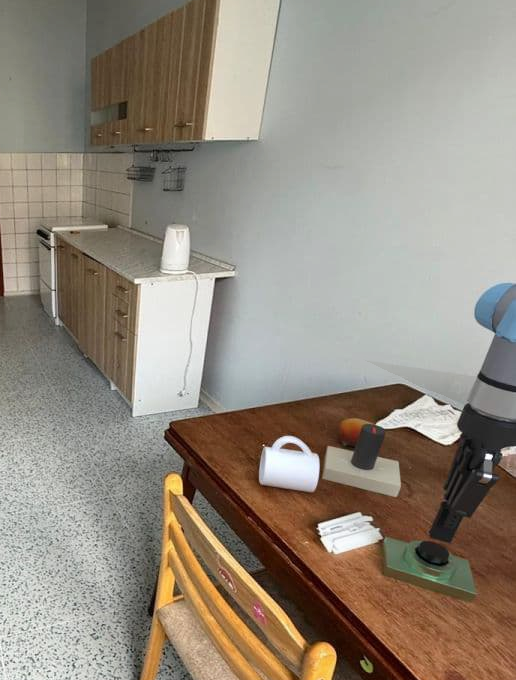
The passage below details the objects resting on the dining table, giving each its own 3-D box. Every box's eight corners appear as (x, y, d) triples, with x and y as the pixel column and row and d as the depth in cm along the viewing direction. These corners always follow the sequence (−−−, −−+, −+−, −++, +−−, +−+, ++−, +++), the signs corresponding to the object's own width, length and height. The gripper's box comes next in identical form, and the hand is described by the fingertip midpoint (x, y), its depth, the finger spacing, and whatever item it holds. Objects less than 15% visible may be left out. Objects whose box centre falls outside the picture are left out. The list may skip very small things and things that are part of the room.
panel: (394, 472, 105) (398, 460, 104) (396, 497, 98) (401, 485, 96) (324, 456, 112) (328, 445, 110) (321, 478, 104) (325, 467, 102)
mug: (312, 500, 98) (326, 452, 92) (259, 492, 100) (270, 444, 95) (307, 477, 104) (320, 431, 99) (258, 470, 107) (267, 424, 102)
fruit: (333, 445, 113) (343, 413, 113) (334, 446, 120) (343, 416, 119) (372, 455, 109) (382, 422, 109) (370, 456, 116) (380, 425, 115)
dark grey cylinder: (350, 456, 106) (362, 420, 101) (373, 461, 104) (386, 425, 100) (350, 466, 102) (362, 430, 98) (374, 472, 101) (387, 435, 96)
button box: (463, 569, 81) (472, 552, 79) (471, 603, 75) (481, 586, 73) (382, 545, 86) (388, 528, 84) (383, 575, 80) (390, 558, 78)
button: (443, 553, 79) (447, 545, 78) (447, 569, 76) (451, 561, 75) (415, 545, 81) (418, 537, 80) (417, 560, 78) (421, 553, 77)
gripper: (549, 439, 59) (475, 573, 70) (522, 397, 69) (461, 520, 80) (474, 425, 62) (415, 555, 73) (459, 387, 72) (409, 507, 83)
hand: (439, 537), depth 77 cm, fingers closed
